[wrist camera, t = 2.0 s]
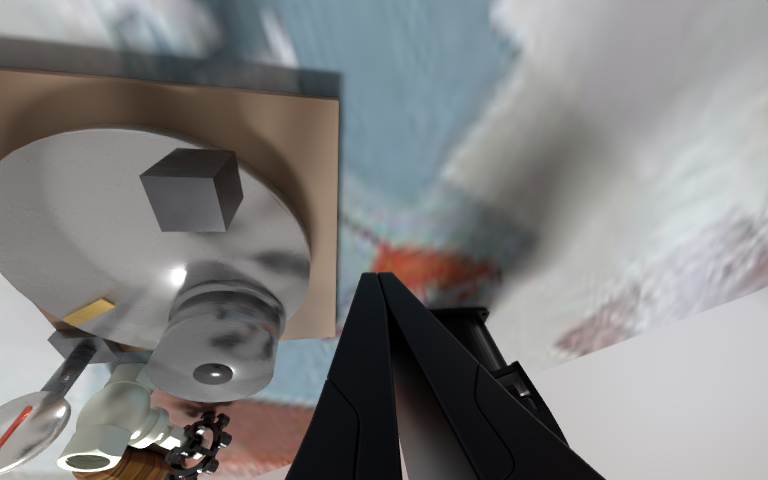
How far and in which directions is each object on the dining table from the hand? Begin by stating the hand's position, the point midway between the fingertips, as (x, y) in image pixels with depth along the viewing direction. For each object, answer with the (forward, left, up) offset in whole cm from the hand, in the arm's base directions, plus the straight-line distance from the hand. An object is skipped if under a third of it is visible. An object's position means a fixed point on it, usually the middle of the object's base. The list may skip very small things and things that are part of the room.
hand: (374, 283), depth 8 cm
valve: (+16, +24, -11) cm, 31 cm away
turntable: (+10, +6, -10) cm, 16 cm away
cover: (+8, +11, -8) cm, 16 cm away
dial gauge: (+18, +14, -10) cm, 25 cm away
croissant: (+23, +37, -11) cm, 46 cm away
